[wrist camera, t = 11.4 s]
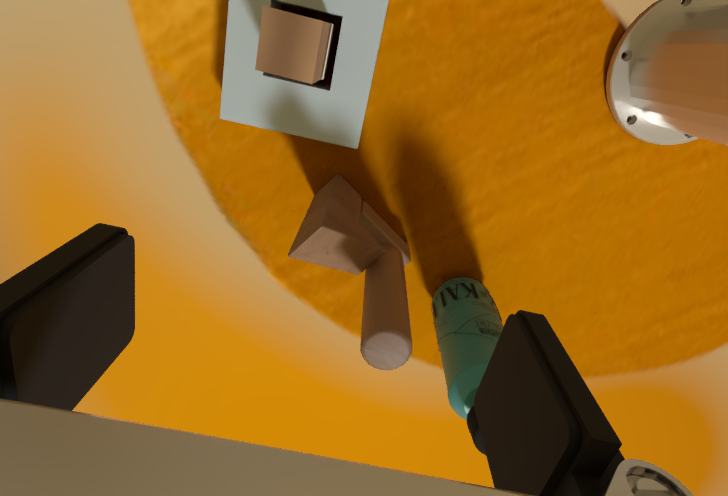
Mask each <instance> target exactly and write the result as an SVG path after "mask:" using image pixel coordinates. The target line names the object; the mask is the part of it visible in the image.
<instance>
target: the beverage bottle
mask: <svg viewBox="0 0 728 496" xmlns="http://www.w3.org/2000/svg"><path fill="white" fill-rule="evenodd" d="M483 285H484V284H483ZM483 285H482V284H481V282H479V281H476V280H474V279H472V278H468V277H458V278H453V279H450V280H448V281H446V282H445V283H443V284H442V285H441V286H440V287H439V288H438V289H437V291H436V292H435V294H434V295H433V296H434V297H433V300H432V309H433V315H434V316H433V318H434V321H435V322H434V323H433V324H435V328H436V333H437V335H436V336H437V337H436V338H437V341H438V342H437V344H438V345H439V349H440V350H439V349H438V350H439V351H440V352H441V357H442V363H443V368H444V373H445V378H446V384H447V389H448V399H449V402H450V405H451V407H452V408H453V410H454V411H455V412H456V413H457V414H458V415H459V416H461V417H462V418H464V419H466V420H467V425H468V429H469V431H470V433H471V436H472V439H473V442H474V444H475V446H476V448H477V449H478V450H479V451H480V452H481V453H483V454H485V455H486V452H485V448H484V444H483V440H482V437H481V433H480V429H479V425H478V421H477V417H476V413H475V409H474V399H475V395H476V392H477V390H478V387H479V385H480V382H481V380H482V378H483V375H484V373H485V370H486V368H487V366H488V363H489V361H490V359H491V356H492V354H493V351H494V349H495V347H496V344H497V342H498V339H499V337H500V335H501V332H502V330H503V328H504V327H503V325H502V320H501V317H499V316H500V314H499V312H498V313H497V311H498V309H497V307H496V308H495V306H496V304H495V302H494V300H493V297H492V298H491V296H490V294H489V292H488V291H489V289H486V287H484V286H483ZM493 303H494V304H495V306H494V304H493ZM496 309H497V311H496ZM498 314H499V315H498Z"/></svg>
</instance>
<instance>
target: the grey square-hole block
mask: <svg viewBox="0 0 728 496" xmlns="http://www.w3.org/2000/svg"><path fill="white" fill-rule="evenodd" d="M388 1H389V0H229V4H228V17H227V30H226V43H225V57H224V70H223V83H222V96H221V110H220V119H224V120H229V121H233V122H238V123H242V124H247V125H251V126H256V127H260V128H265V129H269V130H274V131H278V132H283V133H287V134H292V135H296V136H301V137H305V138H309V139H314V140H318V141H323V142H327V143H332V144H336V145H341V146H345V147H350V148H354V149H358V145H359V140H360V135H361V131H362V126H363V121H364V116H365V112H366V107H367V102H368V97H369V92H370V88H371V83H372V78H373V73H374V68H375V64H376V59H377V54H378V49H379V45H380V40H381V35H382V30H383V25H384V21H385V16H386V11H387V6H388ZM282 4H286V5H291V6H295V7H299V8H303V9H307V10H311V11H316V12H320V13H324V14H328V15H332V16H336V17H341V18H342V24H341V30H340V36H339V41H338V47H337V53H336V59H335V65H334V70H333V76H332V82H331V86H329V85H324V84H320V83H316V82H315V83H313V84H310V83H306V82H302V81H298V80H294V79H290V78H286V77H282V76H278V75H274V74H270V73H266V72H262V71H258V70H255V66H256V58H257V50H258V42H259V33H260V25H261V17H262V9H263V6H267V7H271V8H275V9H279V10H281V6H282Z"/></svg>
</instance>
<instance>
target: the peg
mask: <svg viewBox="0 0 728 496" xmlns="http://www.w3.org/2000/svg"><path fill="white" fill-rule="evenodd" d="M334 30H335V26H334V24H331V23H328V22H324V21H321V20H317V19H313V18H309V17H305V16H302V15H298V14H294V13H290V12H286V11H282V10H279V9H275V8H271V7H267V6H263V9H262V17H261V25H260V33H259V42H258V50H257V58H256V66H255V70H258V71H262V72H266V73H270V74H274V75H278V76H282V77H286V78H290V79H294V80H298V81H302V82H306V83H310V84H313V83H315V82H317V81H319V80H320V79H322V80H323V79H324V77H326V73H327V68H328V62H329V57H330V52H331V46H332V41H333V35H334Z"/></svg>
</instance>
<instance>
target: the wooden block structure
mask: <svg viewBox="0 0 728 496" xmlns="http://www.w3.org/2000/svg"><path fill="white" fill-rule="evenodd" d="M288 257H291V258H294V259H298V260H302V261H306V262H310V263H314V264H318V265H322V266H326V267H330V268H334V269H337V270H341V271H345V272H349V273H353V274H357V275H358V274H360V273H361V272H362V271H364V270H365V269H366V272H365V287H364V302H363V317H362V332H361V353H362V356H363V358H364V359H365V360H366V362H367V363H368V364H369V365H371V366H373V367H374V368H377V369H381V370H392V369H396V368H398V367H400V366H402V365H404V364H405V363H406V362H407V361H408V359H409V357H410V355H411V353H412V338H411V329H410V319H409V310H408V300H407V291H406V281H405V272H404V266H405V265H406V264H408V263H409V262H410V260H411V257H410V250H409V246H408V244H407V243H406V242H405V241H404V240H403V239H402V238H401V237H400V236H399V235H398V234H397V233H396V232H395V231H394V230H393V229H392V228H391V227H390V226H389V225H388V224H387V223H386V222H385V221H384V220H383V219H382V217H381V216H380V215H379V214H378V213H377V212H376V211H375V210H374V209H373V208H372V207H371V206H370V205H369V204H368V203H367V202H366V201H365V200H362V198H361V196H360V195H359V194H358V193H357V192H356V191H355V189H354V188H353V187H352V186H351V185H350V184H349V183H348V182H347V181H346V180H345V179H344V178H343V177H342V176H341V175H339V174H337V175H335V176H334V177H333V178H332V179H331V180H330V181H329V182H328V183H327V184H325V185H324V186H323V187H322V188H321V189H320V190H319V191H318V192H317V193H316V194H315V196H314V198H313V200H312V202H311V205H310V207H309V209H308V211H307V214H306V216H305V218H304V220H303V222H302V224H301V227H300V229H299V231H298V233H297V236H296V238H295V240H294V242H293V245H292V247H291V249H290V251H289V254H288Z"/></svg>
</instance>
